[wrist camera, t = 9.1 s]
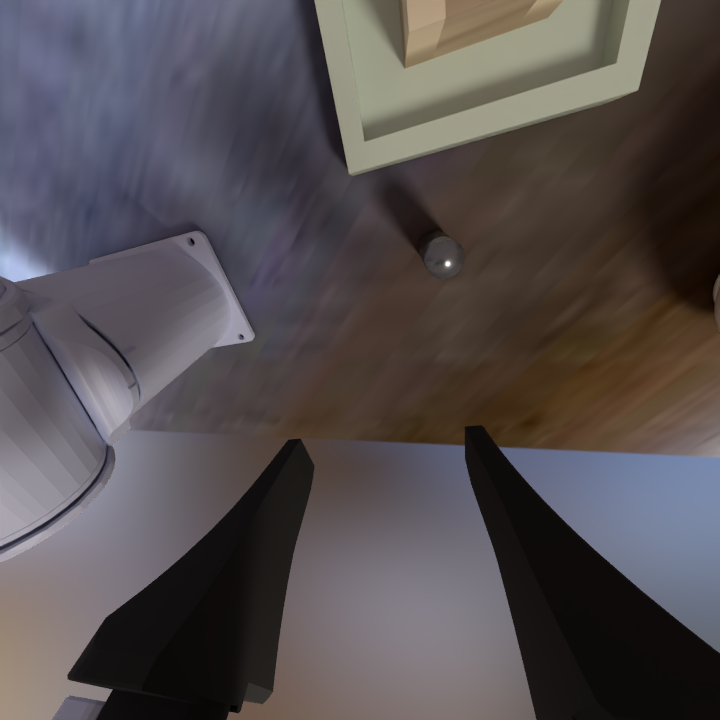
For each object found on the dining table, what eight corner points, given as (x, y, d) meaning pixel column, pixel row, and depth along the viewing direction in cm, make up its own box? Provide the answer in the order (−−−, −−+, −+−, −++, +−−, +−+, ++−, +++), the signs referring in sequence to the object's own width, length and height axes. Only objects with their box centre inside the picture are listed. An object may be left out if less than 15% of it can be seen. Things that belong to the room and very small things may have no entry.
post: (419, 264, 16) (427, 282, 13) (416, 233, 15) (424, 244, 12) (449, 258, 16) (464, 275, 12) (447, 226, 15) (464, 235, 12)
